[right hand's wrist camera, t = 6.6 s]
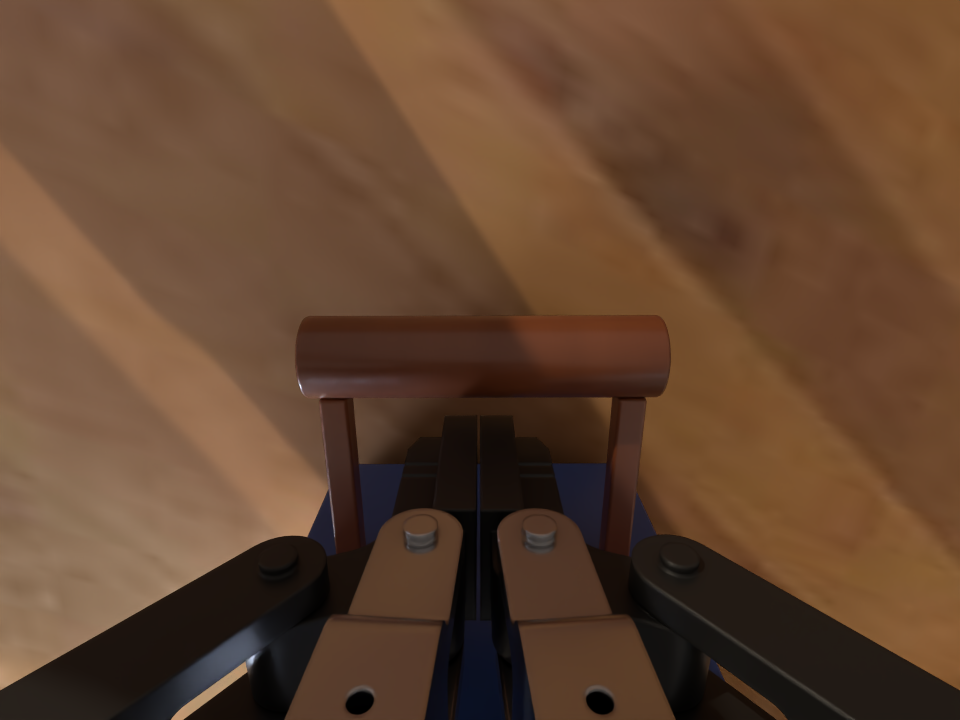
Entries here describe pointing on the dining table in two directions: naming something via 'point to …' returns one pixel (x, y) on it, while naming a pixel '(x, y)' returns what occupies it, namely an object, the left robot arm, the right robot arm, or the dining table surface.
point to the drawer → (484, 374)
